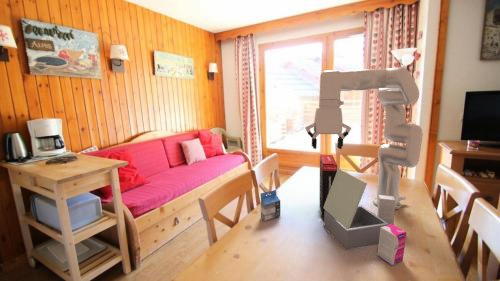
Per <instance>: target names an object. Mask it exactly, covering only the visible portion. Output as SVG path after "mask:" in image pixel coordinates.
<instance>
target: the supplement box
mask: <svg viewBox="0 0 500 281" xmlns="http://www.w3.org/2000/svg"><path fill="white" fill-rule="evenodd" d="M406 239H407V231H406V230H404V229H402V228H400V227H398V226H396V225H395V224H394V225H393V224H390V225H387V226H383V227H381V228H380V237H379V244H378V248H377V257H378V258H379V259H380V260H382V261H383V262H384V263H386V264H388V265H389V266H391V267H392V266H395V265H396V264H398V263H402V262H403V260H404V254H405V246H406Z"/></svg>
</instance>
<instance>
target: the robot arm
mask: <svg viewBox="0 0 500 281" xmlns="http://www.w3.org/2000/svg"><path fill="white" fill-rule="evenodd" d="M319 75H320V76H319V79H320V80H319V95H318V98H319V100H318V107H316V109H315V115H314V120H313V121H314V122H312V123H311V124H309V125H307V126H305V128H304V129H305V132H307V134H308V136H310V137H311V147H312V148H313V149H314V150H316V149H317V143H318V140H317V137H318V136H319V135H337V136H338V137H337V144H336V146H337V149H338V150H342V147H344V139H345V138H346V137H347V136H348V135H349V133H350V132H351V130H352V127H351V126H349V125H347V124H345V123H343V111H342V107H341V106H344V104H345V102H344V100H343V101H342V100H341V92H350V91H351V92H352V91H371V90H377V93H376V94H377V95H376V96H377V99H378V102H379V103H380V104H381V105H382V106H383V108H384V112H385V119H384V129H383V138H384V139H385V140H386V141H387V142H393V143H398V144H393V143H384V144H382V145H380V146H379V148H378V149H377V158H378V175H377V177H378V178H377V187H376V188H377V189H376V196H375V197H374V198H373V199H372V203H373V204H374V205H375V206H377V207H378V196H379V195H384V196H393V197H394V199H395V200H396V202H395V210H399V209H401V207H402V204H401V201H405V200H406V196H404V195H403V196H400V195H399V191H400V183H401V182H400V181H401V170H400V167H406V168H409V169H411V168H415V167H416V166H418V163H419V161H420V156H421V150H422V141H423V134H424V133H423V130H422V127H421V126H420V125H419V124H415V123H406V120H407V110H406V108H405V106H407V105H414V104H416V103H417V102H418V101H419V98H420V90H419V87H418V85H417V83H416V82H415V79H414V78H413V75H412V74H411V72H410V71H409V70H408V69H407V68H406V67H403V66H399V67H391V68H378V69H377V68H375V69H373V68H372V69H371V68H369V69H359V70H345V71H344V70H343V71H340V70H324V71H322V72H321V73H320V74H319ZM404 105H405V106H404ZM312 128H313V131H314V132H313V133H312V131H311V129H312ZM343 128H344V129H345V130H344V131H343ZM399 144H404V145H405V146H404V145H399ZM399 166H400V167H399Z"/></svg>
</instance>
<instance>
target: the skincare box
mask: <svg viewBox="0 0 500 281" xmlns="http://www.w3.org/2000/svg"><path fill="white" fill-rule="evenodd" d="M395 202H396V200H395V199H394V197H393V196H384V195H379V196H378V206H377V213H376V216H378V217H379V218H381V219H382V220H384V221H385V222H387V223H388V224H389V225H390V224H393V225H395V224H394V223H395V222H394V221H395V212H396V209H395Z"/></svg>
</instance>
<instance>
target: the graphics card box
mask: <svg viewBox="0 0 500 281" xmlns="http://www.w3.org/2000/svg"><path fill="white" fill-rule="evenodd" d="M319 154H320V153H319ZM337 170H338V163H337V162H336V160H335V157H334V155H333V154H320V155H319V209H320V215H321V220H323V221H324V212H325V209H324V208H323V207H324V204H325V202H326V199H327V197H328V194H329V191H330V189H331V186H332V183H333V181H334V178H335V175H336V173H337Z"/></svg>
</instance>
